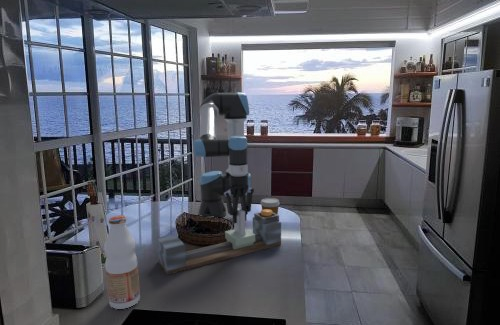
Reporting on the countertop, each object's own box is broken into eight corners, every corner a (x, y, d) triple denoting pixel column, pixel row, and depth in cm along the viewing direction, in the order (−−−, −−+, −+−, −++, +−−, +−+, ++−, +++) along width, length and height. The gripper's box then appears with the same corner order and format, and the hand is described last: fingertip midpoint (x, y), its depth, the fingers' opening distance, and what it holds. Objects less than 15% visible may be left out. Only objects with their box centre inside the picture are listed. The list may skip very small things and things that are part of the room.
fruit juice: (112, 314, 108) (104, 225, 103) (106, 299, 116) (98, 216, 111) (144, 304, 113) (137, 219, 108) (136, 290, 121) (129, 211, 116)
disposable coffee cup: (279, 220, 185) (279, 197, 183) (279, 227, 176) (279, 203, 174) (261, 219, 186) (261, 197, 184) (260, 226, 177) (259, 203, 175)
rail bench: (158, 261, 142) (156, 231, 139) (266, 235, 166) (266, 209, 164) (167, 274, 132) (165, 242, 129) (281, 244, 156) (281, 216, 154)
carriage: (225, 242, 155) (224, 208, 152) (243, 238, 159) (243, 204, 156) (236, 251, 146) (235, 215, 143) (255, 246, 150) (254, 211, 148)
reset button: (258, 215, 158) (258, 210, 158) (268, 213, 160) (268, 208, 160) (264, 218, 154) (264, 213, 153) (274, 216, 156) (274, 211, 156)
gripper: (225, 178, 140) (227, 235, 144) (259, 173, 147) (259, 228, 152) (217, 174, 146) (219, 229, 151) (250, 170, 154) (251, 223, 158)
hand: (239, 229), depth 151 cm, fingers closed on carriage, 2 cm apart
